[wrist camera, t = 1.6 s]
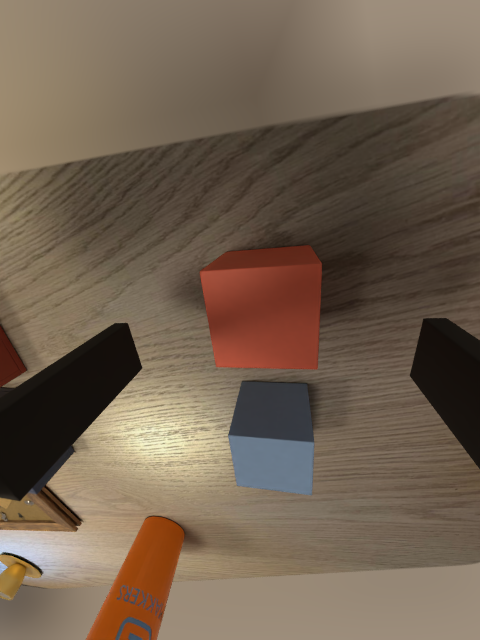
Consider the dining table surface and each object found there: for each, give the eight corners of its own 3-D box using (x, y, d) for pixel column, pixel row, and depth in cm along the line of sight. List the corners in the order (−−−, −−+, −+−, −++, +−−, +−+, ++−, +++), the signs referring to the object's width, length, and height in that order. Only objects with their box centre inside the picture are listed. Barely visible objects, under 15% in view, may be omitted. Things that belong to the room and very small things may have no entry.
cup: (21, 554, 58) (-3, 585, 53) (51, 577, 62) (31, 608, 58) (-9, 551, 62) (-34, 580, 57) (21, 573, 66) (0, 602, 61)
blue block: (241, 381, 22) (227, 435, 17) (307, 383, 21) (314, 442, 16) (247, 426, 25) (236, 486, 19) (306, 430, 23) (312, 495, 18)
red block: (225, 251, 17) (199, 271, 12) (310, 244, 16) (322, 263, 11) (234, 324, 20) (215, 367, 14) (308, 323, 18) (317, 370, 13)
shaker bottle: (179, 548, 41) (96, 814, 23) (133, 526, 40) (11, 780, 22) (198, 530, 36) (116, 836, 19) (147, 505, 36) (12, 796, 18)
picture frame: (12, 453, 36) (-67, 464, 44) (0, 465, 35) (-80, 473, 42) (83, 521, 43) (4, 520, 50) (75, 533, 41) (-6, 531, 48)
